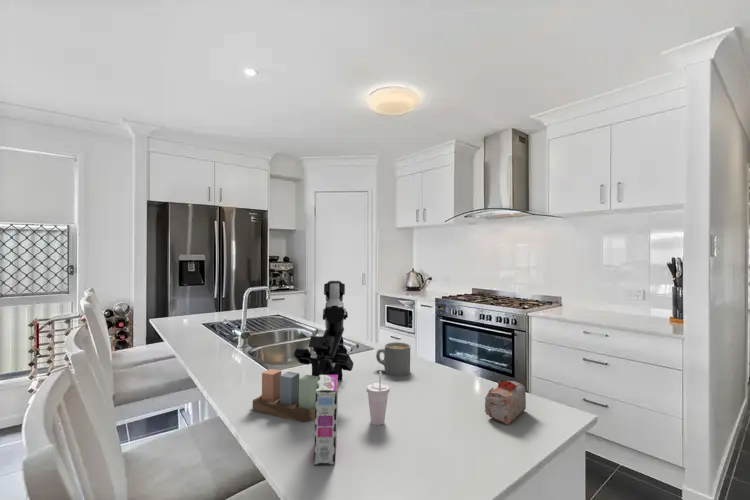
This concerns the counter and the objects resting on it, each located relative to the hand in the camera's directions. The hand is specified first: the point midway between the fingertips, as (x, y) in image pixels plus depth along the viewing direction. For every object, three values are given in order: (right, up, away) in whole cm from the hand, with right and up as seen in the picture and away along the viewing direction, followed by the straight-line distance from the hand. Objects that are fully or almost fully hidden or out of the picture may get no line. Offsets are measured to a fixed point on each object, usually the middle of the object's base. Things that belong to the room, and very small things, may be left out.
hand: (312, 384), depth 107 cm
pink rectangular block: (-13, -7, +3) cm, 15 cm away
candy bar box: (+7, -8, -22) cm, 24 cm away
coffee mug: (+26, -8, +35) cm, 44 cm away
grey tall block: (-7, -7, 0) cm, 10 cm away
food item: (+56, -8, -2) cm, 57 cm away
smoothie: (+19, -8, -7) cm, 22 cm away
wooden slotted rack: (-7, -7, 0) cm, 10 cm away
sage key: (-1, -7, -2) cm, 7 cm away
